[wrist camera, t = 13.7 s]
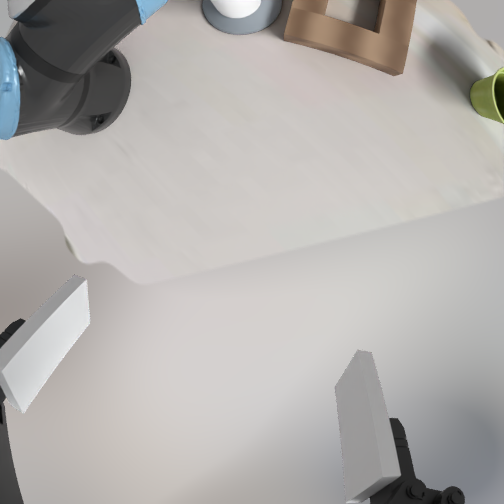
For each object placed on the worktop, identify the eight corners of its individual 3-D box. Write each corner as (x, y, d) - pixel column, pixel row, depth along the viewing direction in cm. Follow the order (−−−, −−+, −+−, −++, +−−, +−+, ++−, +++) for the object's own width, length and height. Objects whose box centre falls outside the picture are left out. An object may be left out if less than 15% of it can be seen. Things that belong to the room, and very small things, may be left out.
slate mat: (195, 29, 34) (194, 28, 34) (214, -30, 30) (213, -32, 29) (272, 41, 34) (271, 40, 34) (289, -20, 30) (289, -22, 29)
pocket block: (283, 40, 34) (283, 34, 31) (307, -44, 27) (308, -54, 24) (394, 76, 34) (402, 73, 31) (410, -9, 27) (419, -16, 24)
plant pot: (455, 69, 32) (486, 64, 24) (497, 72, 30) (529, 69, 22) (466, 127, 35) (498, 133, 28) (506, 126, 34) (538, 132, 26)
